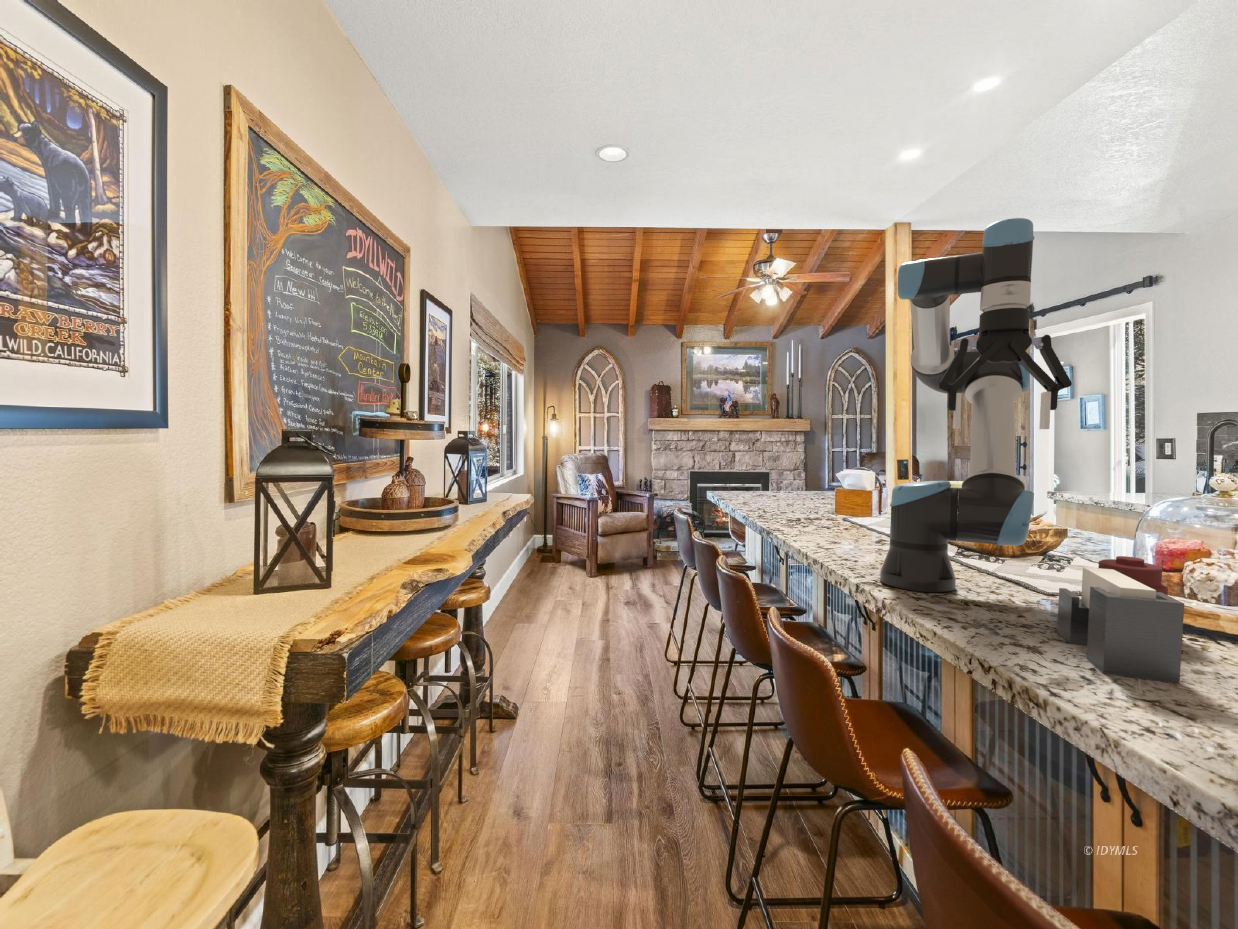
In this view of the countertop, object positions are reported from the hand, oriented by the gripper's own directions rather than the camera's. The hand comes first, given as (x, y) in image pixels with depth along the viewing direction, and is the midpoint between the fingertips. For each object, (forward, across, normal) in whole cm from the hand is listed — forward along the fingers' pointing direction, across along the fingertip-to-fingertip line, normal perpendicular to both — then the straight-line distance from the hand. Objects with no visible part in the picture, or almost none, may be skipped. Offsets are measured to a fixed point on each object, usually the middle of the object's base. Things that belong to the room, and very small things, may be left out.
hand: (999, 429), depth 105 cm
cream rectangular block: (+29, +13, -14) cm, 35 cm away
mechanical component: (+35, +21, +3) cm, 41 cm away
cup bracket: (+35, +13, -20) cm, 42 cm away
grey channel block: (+35, +13, -8) cm, 38 cm away
